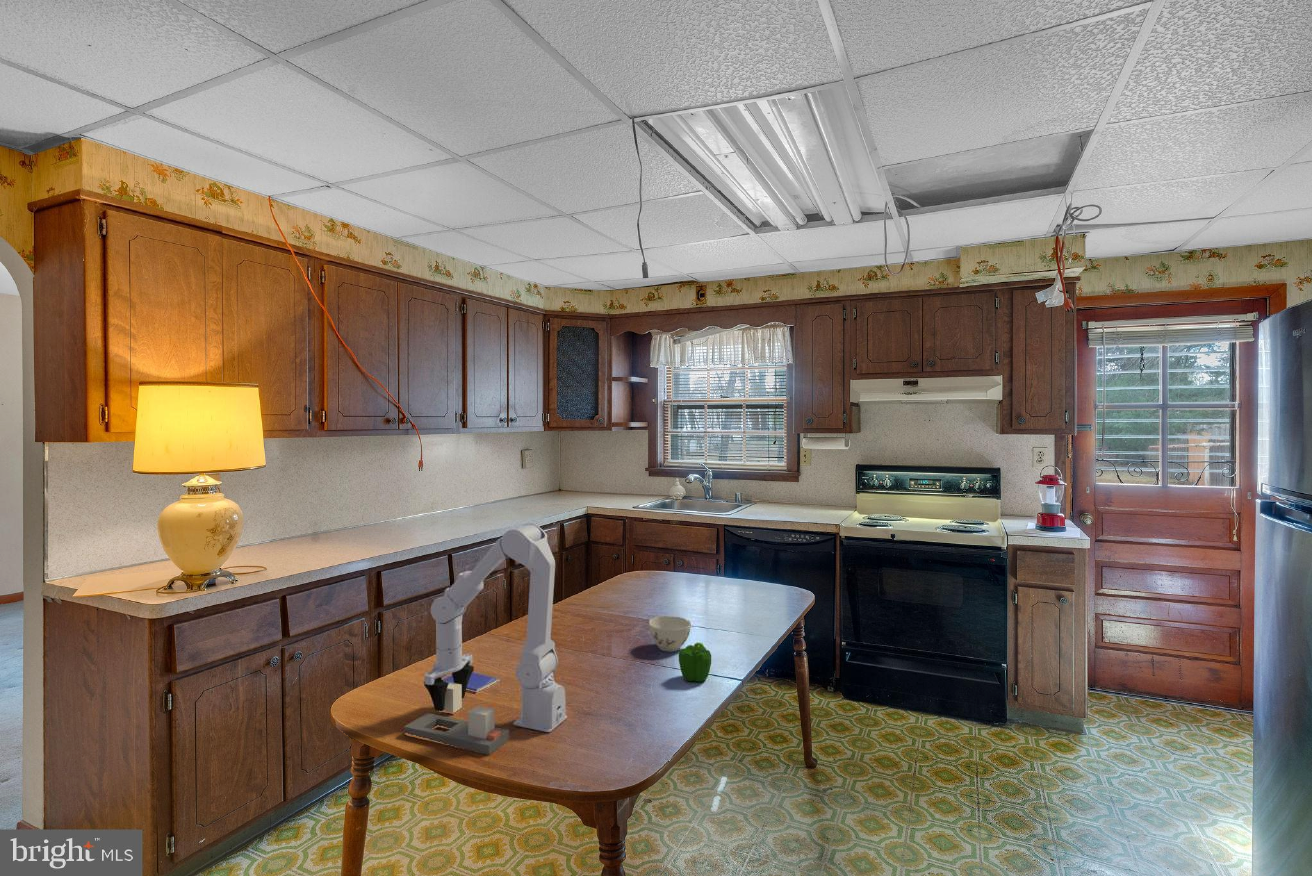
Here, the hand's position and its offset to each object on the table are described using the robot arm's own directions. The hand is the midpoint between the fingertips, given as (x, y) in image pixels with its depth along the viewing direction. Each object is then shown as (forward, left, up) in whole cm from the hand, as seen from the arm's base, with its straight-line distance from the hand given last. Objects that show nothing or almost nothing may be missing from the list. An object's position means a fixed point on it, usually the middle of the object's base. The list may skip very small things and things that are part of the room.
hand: (449, 703), depth 154 cm
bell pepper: (-47, -39, -2) cm, 61 cm away
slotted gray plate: (-10, +10, -2) cm, 14 cm away
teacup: (-33, -59, -2) cm, 68 cm away
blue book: (+6, -15, -2) cm, 16 cm away
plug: (0, 0, -2) cm, 2 cm away
